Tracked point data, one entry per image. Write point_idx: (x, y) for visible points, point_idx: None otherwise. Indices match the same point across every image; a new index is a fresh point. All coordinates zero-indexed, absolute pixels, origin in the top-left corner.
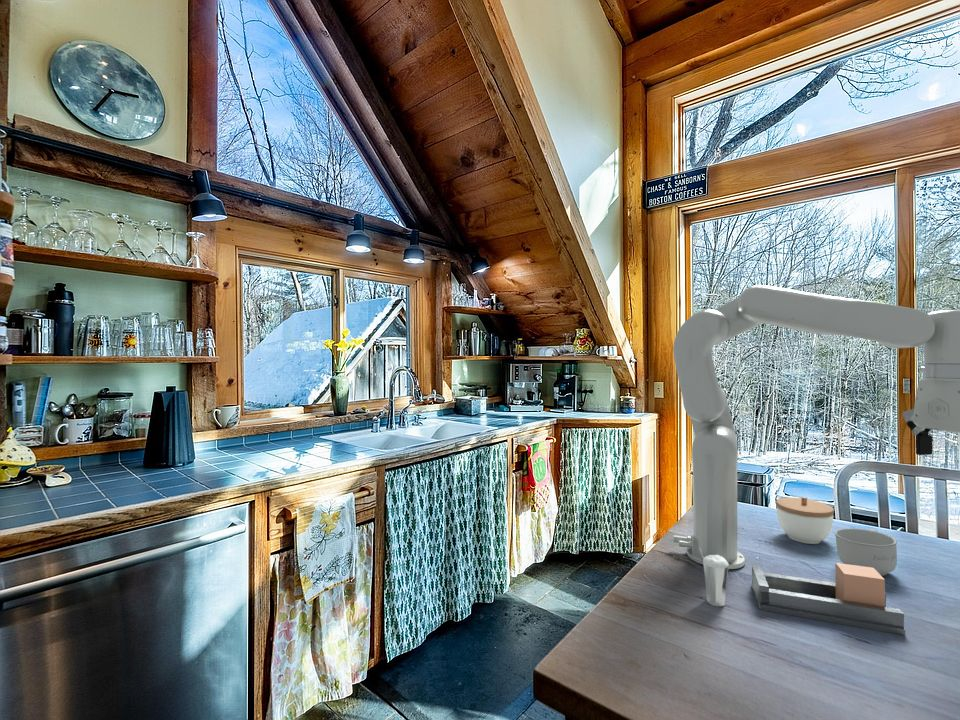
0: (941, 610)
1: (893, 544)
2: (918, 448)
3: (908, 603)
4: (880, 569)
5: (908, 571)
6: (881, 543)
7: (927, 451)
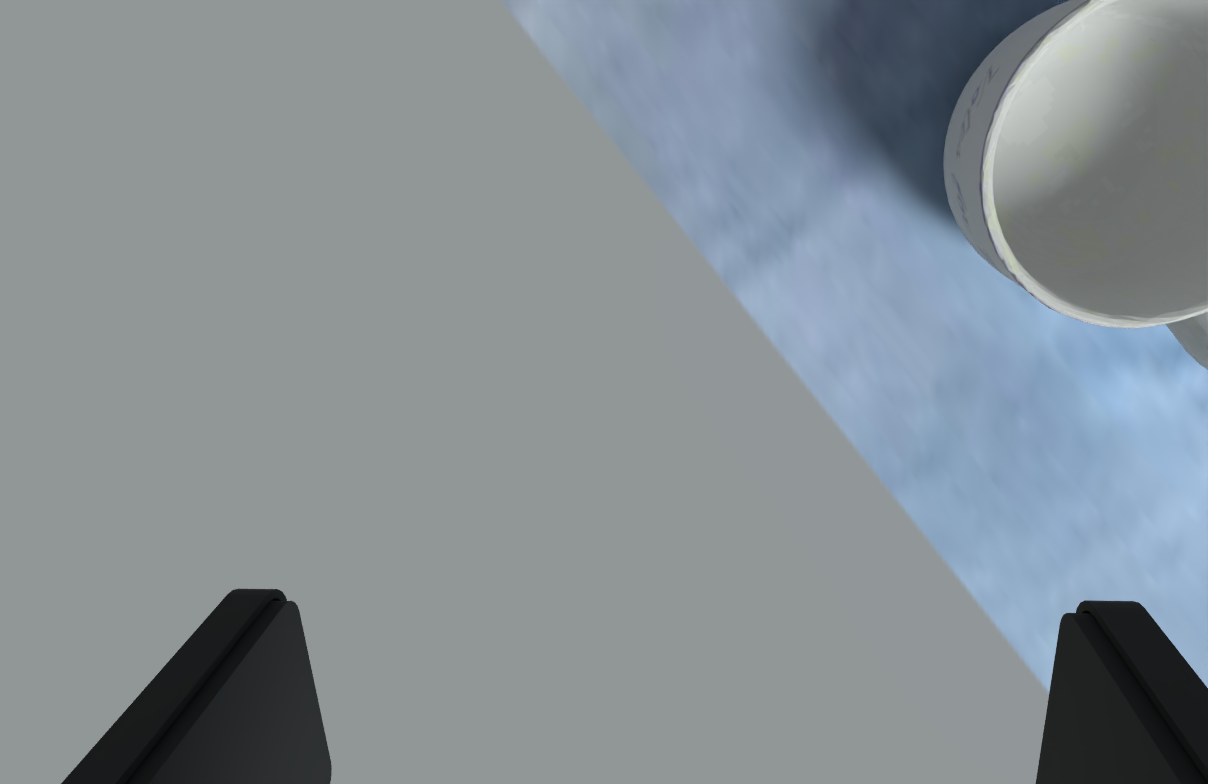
0: (636, 116)
1: (984, 212)
2: (1136, 668)
3: (711, 15)
4: (956, 104)
5: (989, 357)
6: (1125, 295)
7: (1065, 773)
